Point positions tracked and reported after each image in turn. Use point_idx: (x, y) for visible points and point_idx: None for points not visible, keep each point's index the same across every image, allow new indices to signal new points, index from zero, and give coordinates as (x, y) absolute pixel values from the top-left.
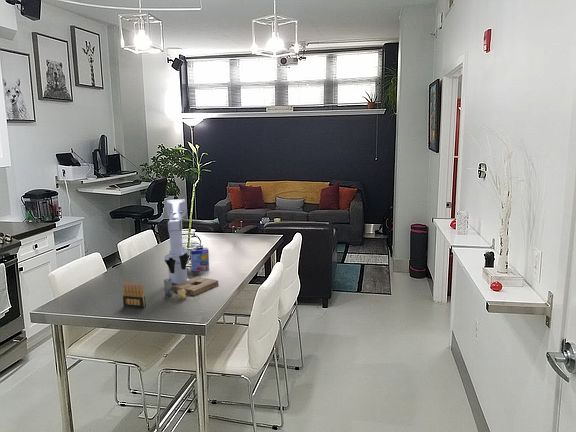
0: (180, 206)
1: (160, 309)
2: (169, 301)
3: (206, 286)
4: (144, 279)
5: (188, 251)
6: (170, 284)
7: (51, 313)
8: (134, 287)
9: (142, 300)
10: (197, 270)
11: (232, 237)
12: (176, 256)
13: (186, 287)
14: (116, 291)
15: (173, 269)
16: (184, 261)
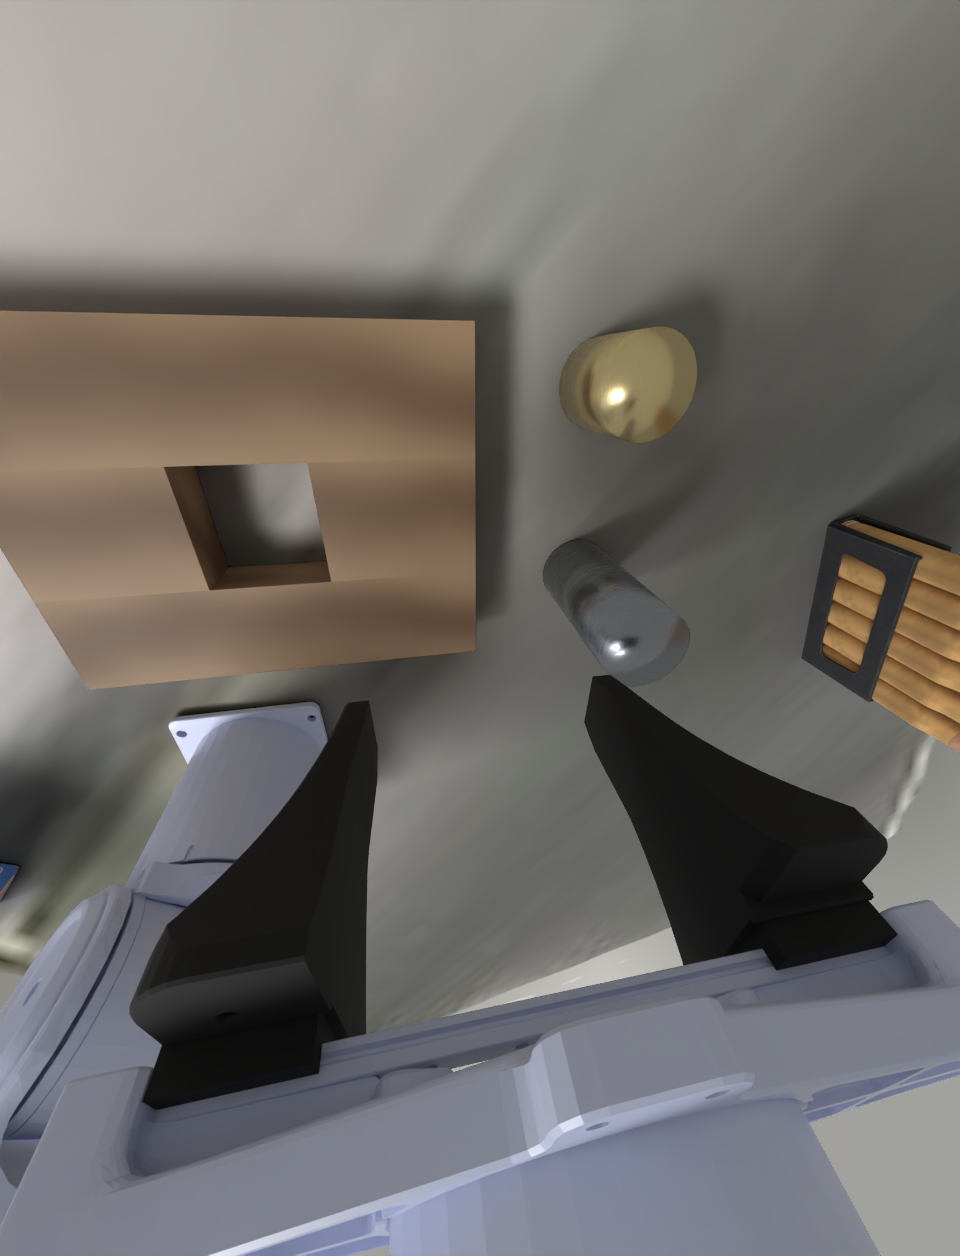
0: None
1: (888, 353)
2: (692, 447)
3: (201, 317)
4: (400, 902)
5: (20, 1228)
6: (630, 588)
7: (908, 796)
8: None
9: (922, 538)
10: None
11: None
12: (609, 1006)
13: (432, 511)
14: (617, 844)
15: (653, 707)
16: (348, 830)
